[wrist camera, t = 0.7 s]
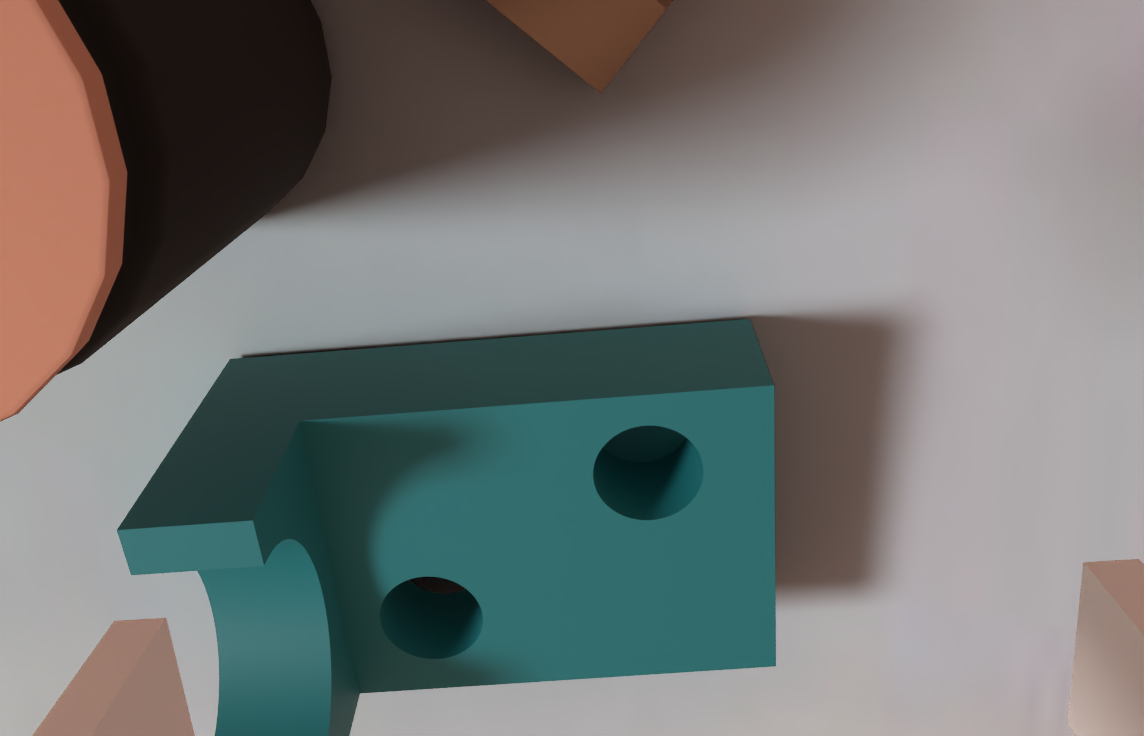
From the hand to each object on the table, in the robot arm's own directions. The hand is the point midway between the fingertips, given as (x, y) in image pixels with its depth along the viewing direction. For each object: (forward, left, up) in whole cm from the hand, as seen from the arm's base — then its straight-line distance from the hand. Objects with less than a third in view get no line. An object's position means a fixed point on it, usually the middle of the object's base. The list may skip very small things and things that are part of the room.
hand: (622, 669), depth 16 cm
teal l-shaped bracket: (+2, -8, -23) cm, 25 cm away
